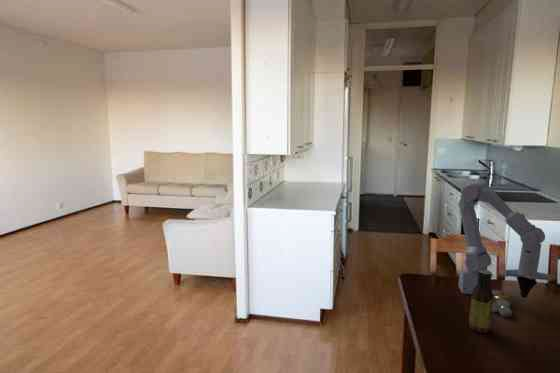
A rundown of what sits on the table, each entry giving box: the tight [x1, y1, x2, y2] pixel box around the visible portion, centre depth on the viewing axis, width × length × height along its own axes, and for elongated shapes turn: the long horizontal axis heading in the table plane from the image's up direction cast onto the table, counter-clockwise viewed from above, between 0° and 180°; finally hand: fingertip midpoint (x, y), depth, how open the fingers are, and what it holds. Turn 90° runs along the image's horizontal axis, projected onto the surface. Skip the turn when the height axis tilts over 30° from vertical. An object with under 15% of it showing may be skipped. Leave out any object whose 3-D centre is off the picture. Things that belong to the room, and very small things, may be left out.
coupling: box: [493, 295, 511, 308], centre depth 141 cm, size 5×4×4 cm
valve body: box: [492, 289, 513, 318], centre depth 140 cm, size 6×14×4 cm, turn 167°
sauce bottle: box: [468, 269, 493, 334], centre depth 124 cm, size 6×6×20 cm
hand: (523, 296), depth 139 cm, fingers closed
